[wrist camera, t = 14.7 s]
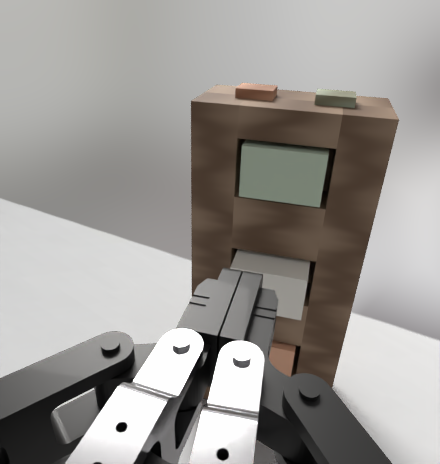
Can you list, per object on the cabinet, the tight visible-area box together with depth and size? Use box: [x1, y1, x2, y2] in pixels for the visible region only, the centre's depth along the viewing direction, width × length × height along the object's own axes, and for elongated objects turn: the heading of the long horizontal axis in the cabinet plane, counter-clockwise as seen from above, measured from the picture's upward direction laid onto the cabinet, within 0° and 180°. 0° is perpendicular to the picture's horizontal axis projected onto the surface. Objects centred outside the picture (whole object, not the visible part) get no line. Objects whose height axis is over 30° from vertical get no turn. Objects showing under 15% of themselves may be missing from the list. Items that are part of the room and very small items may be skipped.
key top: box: [239, 139, 329, 207], centre depth 26 cm, size 5×3×3 cm, turn 76°
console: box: [191, 83, 399, 399], centre depth 33 cm, size 12×6×28 cm, turn 76°
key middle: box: [230, 249, 310, 320], centre depth 29 cm, size 5×3×3 cm, turn 76°
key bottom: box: [269, 341, 296, 377], centre depth 34 cm, size 5×3×3 cm, turn 75°
